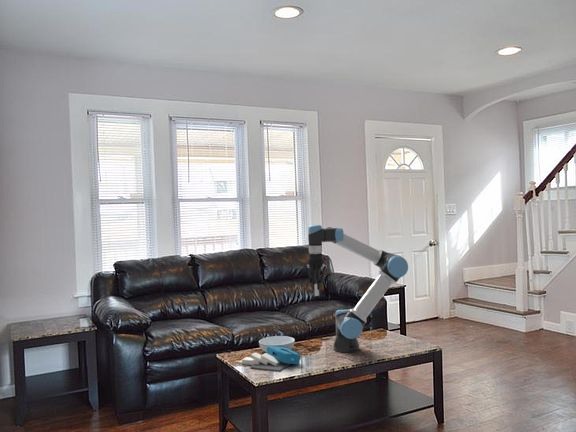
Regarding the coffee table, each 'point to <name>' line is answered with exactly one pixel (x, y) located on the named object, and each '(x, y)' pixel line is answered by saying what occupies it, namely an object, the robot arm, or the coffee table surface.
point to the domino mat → (270, 366)
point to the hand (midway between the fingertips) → (316, 295)
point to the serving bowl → (277, 342)
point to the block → (284, 354)
